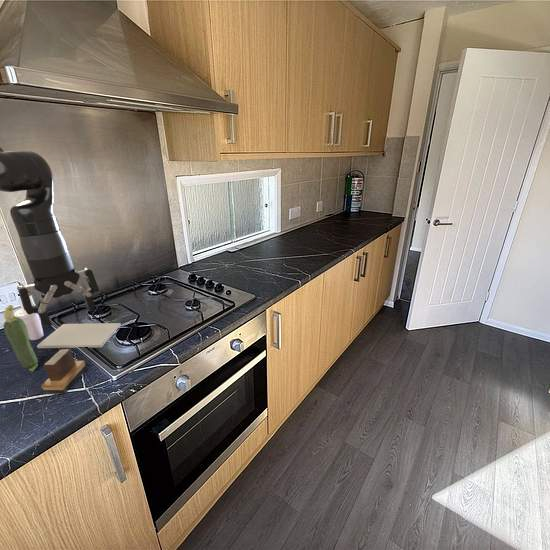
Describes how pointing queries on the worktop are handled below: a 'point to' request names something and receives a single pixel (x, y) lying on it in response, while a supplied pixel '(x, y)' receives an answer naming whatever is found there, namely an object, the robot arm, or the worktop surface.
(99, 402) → the worktop surface
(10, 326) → the vegetable
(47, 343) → the tile
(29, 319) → the smoothie
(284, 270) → the worktop surface
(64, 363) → the brush
